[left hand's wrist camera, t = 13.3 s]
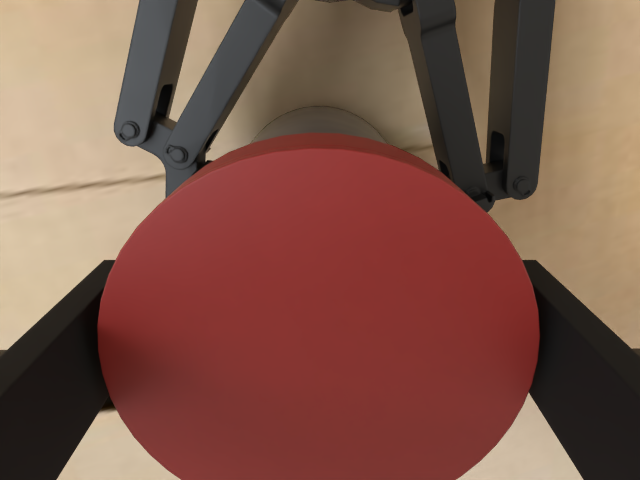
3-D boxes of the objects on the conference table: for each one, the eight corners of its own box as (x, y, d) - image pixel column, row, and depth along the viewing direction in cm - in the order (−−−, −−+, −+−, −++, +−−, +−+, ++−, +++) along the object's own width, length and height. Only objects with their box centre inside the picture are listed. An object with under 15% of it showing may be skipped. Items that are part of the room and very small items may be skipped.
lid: (349, 34, 10) (357, 28, 8) (573, 340, 13) (619, 390, 11) (53, 298, 12) (3, 343, 10) (298, 505, 15) (296, 570, 13)
